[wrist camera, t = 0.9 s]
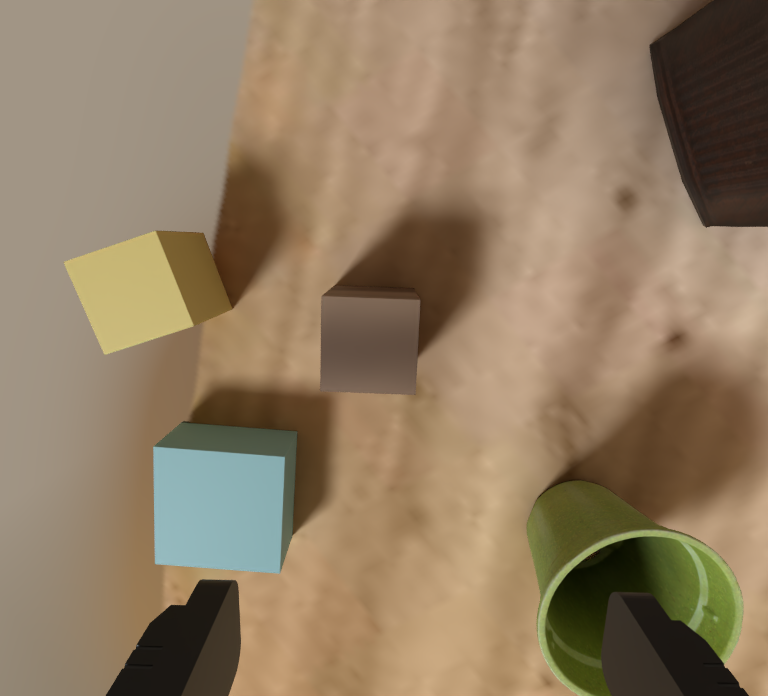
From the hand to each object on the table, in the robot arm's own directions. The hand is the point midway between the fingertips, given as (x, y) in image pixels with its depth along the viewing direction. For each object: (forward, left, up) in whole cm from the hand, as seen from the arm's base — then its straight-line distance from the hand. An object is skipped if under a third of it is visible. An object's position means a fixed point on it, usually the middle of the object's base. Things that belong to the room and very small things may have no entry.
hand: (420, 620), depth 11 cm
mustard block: (-5, -13, -20) cm, 24 cm away
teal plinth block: (+7, -10, -20) cm, 23 cm away
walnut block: (-3, -2, -20) cm, 20 cm away
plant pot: (+9, +11, -20) cm, 24 cm away
